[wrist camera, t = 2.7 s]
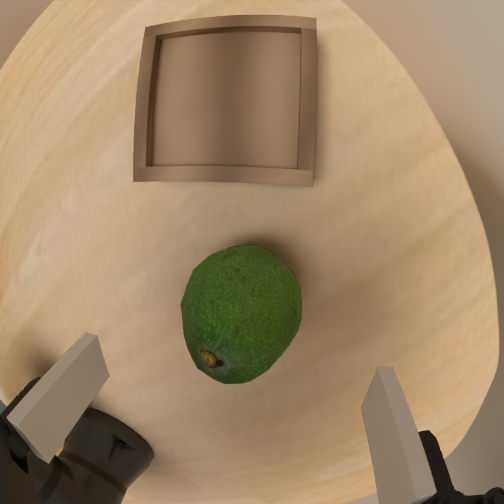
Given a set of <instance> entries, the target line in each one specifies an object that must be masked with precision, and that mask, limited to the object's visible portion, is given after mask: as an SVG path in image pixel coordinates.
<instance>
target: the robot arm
mask: <svg viewBox="0 0 504 504" xmlns="http://www.w3.org/2000/svg"><path fill="white" fill-rule="evenodd" d="M109 376H110V375H109V372H108V369H107V366H106V363H105V360H104V357H103V354H102V350H101V347H100V344H99V340H98V336H97V335H93V334H90V333H85V334H84V335H83V336H82V337H81V338H80V339H79V340H78V341H77V342H76V343H75V344H74V345H73V346H72V347H71V348H70V349H69V350H68V351H67V352H66V353H65V354H64V355H63V356H62V357H61V358H60V359H59V360H58V361H57V362H56V363H55V364H54V365H53V366H52V367H51V368H50V369H49V371H48V372H47V373H46V374H45V375H44V376H43V377H42V378H40V377H38V378H36V379H34V380H32V381H30V382H29V383H28V385H27V386H26V387H25V388H24V390H22V391H21V392H20V393H19V395H17V396H16V398H15V399H14V400H13V401H12V402H11V403H10V404H9V405H8V406H6V405H5V404H4V403H3V402H2V401H1V400H0V504H121V502H122V500H123V498H124V495H125V493H126V491H127V489H128V487H129V486H130V485H131V484H132V483H133V482H134V481H135V480H136V479H137V478H138V477H139V476H140V475H141V474H142V473H143V472H144V471H145V470H146V469H147V468H148V467H149V465H150V463H151V460H152V458H153V453H152V450H151V448H150V447H149V445H148V444H147V443H146V442H145V441H144V440H143V439H142V438H141V437H140V436H139V435H138V434H136V433H135V432H134V431H133V430H131V429H130V428H128V427H127V426H126V425H124V424H122V423H121V422H119V421H118V420H116V419H114V418H112V417H110V416H108V415H106V414H104V413H102V412H99V411H96V410H93V409H89V408H87V407H88V406H89V404H90V403H91V401H92V400H93V399H94V397H95V396H96V394H97V393H98V392H99V390H100V389H101V387H102V386H103V385H104V383H105V382H106V380H107V379H108V378H109ZM361 410H362V414H363V419H364V424H365V428H366V433H367V438H368V443H369V448H370V453H371V458H372V464H373V469H374V475H375V481H376V487H377V493H378V500H379V504H504V490H503V489H502V488H499V487H496V488H492V489H491V490H489V491H488V492H487V493H486V494H484V495H472V496H465V495H463V493H461V492H459V491H456V490H455V489H454V487H453V485H452V482H451V479H450V475H449V472H448V470H447V466H446V464H445V461H444V458H443V455H442V452H441V450H440V447H439V444H438V441H437V439H436V437H435V436H434V435H433V434H432V433H431V432H430V431H429V430H426V431H421V432H418V431H417V428H416V425H415V423H414V420H413V417H412V414H411V412H410V409H409V406H408V404H407V401H406V399H405V396H404V394H403V391H402V389H401V386H400V384H399V381H398V379H397V376H396V374H395V372H394V369H393V367H379V368H377V370H376V372H375V375H374V378H373V380H372V383H371V385H370V388H369V390H368V393H367V395H366V397H365V400H364V402H363V404H362V407H361ZM64 440H65V443H64V447H63V450H62V451H61V453H60V454H59V456H58V457H57V456H56V455H55V454H56V452H57V451H58V449H59V448H60V446H61V445H62V443H63V442H64Z"/></svg>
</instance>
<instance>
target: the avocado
mask: <svg viewBox="0 0 504 504" xmlns="http://www.w3.org/2000/svg"><path fill="white" fill-rule="evenodd" d="M181 311H182V319H183V331H184V337H185V341H186V344H187V348H188V350H189V352H190V355H191V357H192V359H193V361H194V363H195V365H196V366H197V368H198V369H199V370H201V371H203V372H204V373H205V374H207V375H208V376H210V377H211V378H213V379H214V380H217V381H219V382H221V383H223V384H238V383H245V382H249V381H252V380H253V379H255V378H256V377H258V376H260V375H261V374H263V373H264V372H266V371H267V370H268V369H270V367H271V366H272V365H273V364H274V363H275V362H276V360H277V359H278V358H279V357H280V356H281V355H282V354H283V352H284V351H285V350H286V348H287V347H288V346H289V345H290V343H291V341H292V340H293V338H294V337H295V335H296V333H297V332H298V329H299V326H300V323H301V316H302V299H301V289H300V285H299V283H298V281H297V279H296V277H295V275H294V273H293V271H292V270H291V269H290V268H289V267H288V266H287V265H286V264H285V263H284V262H282V261H281V260H280V259H279V258H278V257H277V256H276V255H275V254H274V253H272V252H270V251H267V250H265V249H262V248H260V247H257V246H251V245H245V246H234V247H231V248H228V249H225V250H222V251H220V252H217V253H215V254H212V255H210V256H209V257H207V258H206V259H205V260H204V261H203V262H202V263H200V264H199V265H198V266H197V267H196V268H195V269H194V270H193V272H192V274H191V277H190V279H189V282H188V284H187V287H186V290H185V293H184V296H183V299H182V302H181Z"/></svg>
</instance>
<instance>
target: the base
mask: <svg viewBox="0 0 504 504" xmlns="http://www.w3.org/2000/svg"><path fill="white" fill-rule="evenodd" d="M316 101H317V29H316V18H310V17H299V16H283V15H233V16H217V17H206V18H197V19H189V20H182V21H175V22H169V23H164V24H159V25H154V26H149V27H145V33H144V39H143V45H142V52H141V59H140V67H139V76H138V85H137V96H136V109H135V125H134V153H133V182H145V181H210V182H242V183H263V184H280V185H294V186H307V187H312V186H313V171H314V154H315V132H316Z"/></svg>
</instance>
